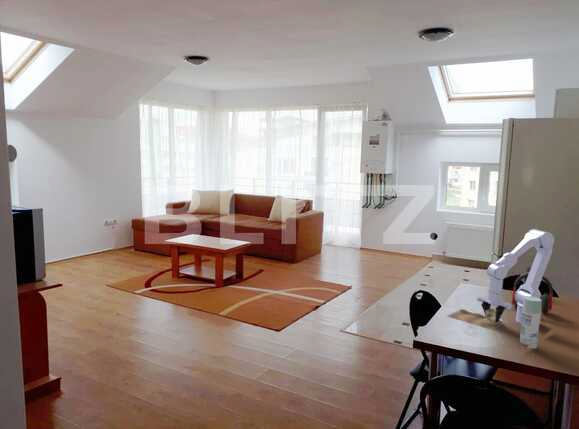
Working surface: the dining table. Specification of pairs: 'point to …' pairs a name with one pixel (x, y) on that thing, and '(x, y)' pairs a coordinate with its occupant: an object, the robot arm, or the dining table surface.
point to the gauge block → (491, 317)
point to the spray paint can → (530, 321)
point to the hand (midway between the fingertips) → (492, 320)
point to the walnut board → (474, 318)
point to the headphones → (545, 299)
